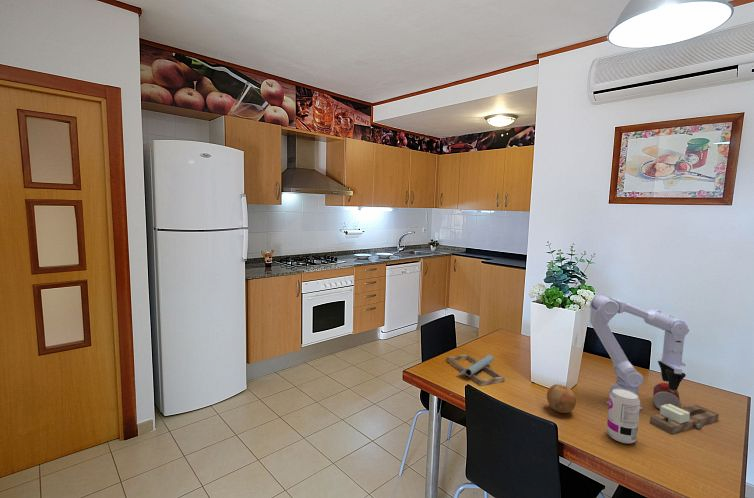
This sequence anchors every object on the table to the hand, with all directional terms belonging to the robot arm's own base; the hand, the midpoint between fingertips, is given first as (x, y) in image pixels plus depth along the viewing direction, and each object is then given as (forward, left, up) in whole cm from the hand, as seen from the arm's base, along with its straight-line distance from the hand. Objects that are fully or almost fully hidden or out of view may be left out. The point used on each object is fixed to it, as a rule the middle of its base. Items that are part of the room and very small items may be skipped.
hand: (669, 385), depth 138 cm
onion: (-40, +12, -10) cm, 43 cm away
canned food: (+7, +5, -6) cm, 11 cm away
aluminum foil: (-49, +51, -8) cm, 72 cm away
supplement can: (-34, -7, -10) cm, 36 cm away
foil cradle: (-50, +52, -10) cm, 73 cm away
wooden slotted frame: (-3, -7, -10) cm, 13 cm away
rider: (-9, -8, -10) cm, 15 cm away
